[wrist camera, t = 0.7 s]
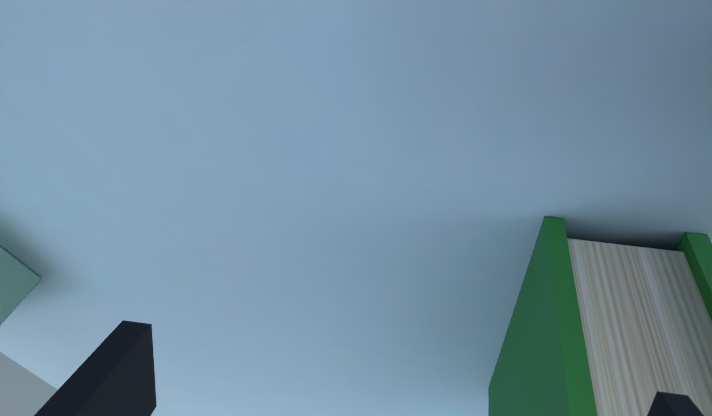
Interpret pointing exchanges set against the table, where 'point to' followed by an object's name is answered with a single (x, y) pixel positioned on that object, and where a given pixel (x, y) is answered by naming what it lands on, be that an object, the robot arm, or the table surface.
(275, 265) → the table surface
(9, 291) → the lunchbox
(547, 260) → the hardback book
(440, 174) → the table surface
